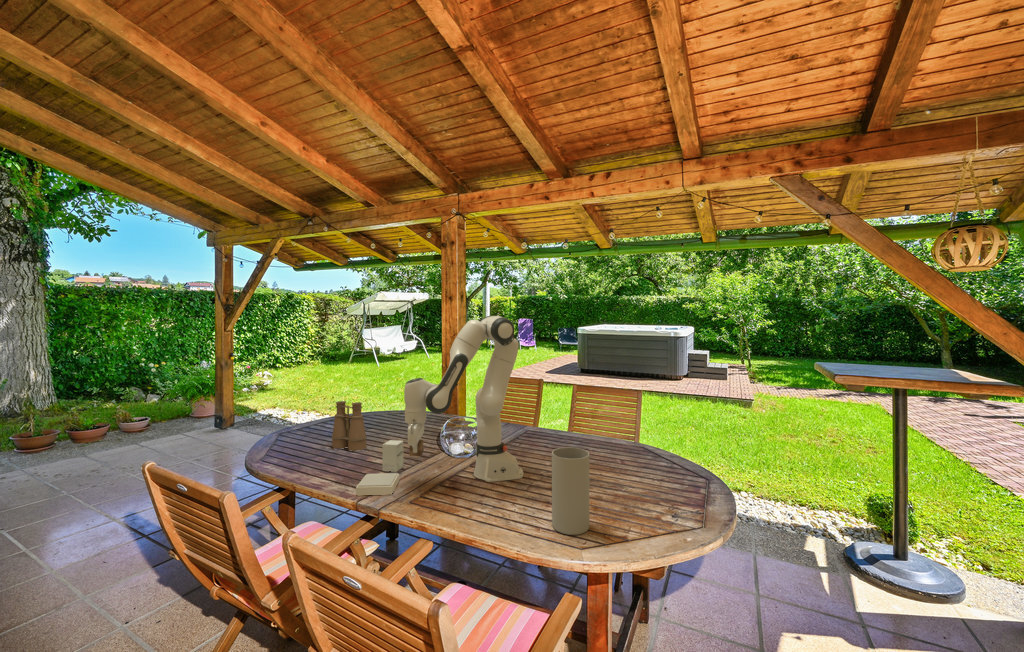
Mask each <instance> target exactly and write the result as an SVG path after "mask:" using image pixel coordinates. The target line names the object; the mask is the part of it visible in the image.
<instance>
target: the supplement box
mask: <svg viewBox="0 0 1024 652" xmlns="http://www.w3.org/2000/svg"><path fill="white" fill-rule="evenodd" d="M381 456H382V458H381V459H382V460H381V461H382V463H381V465H382V472H389V471H391V472H390V473H398V471H400V470H401V469H403V468H404V440H399V439H398V440H394V439H390V440H388V441H386V442H385V443H383V444H382V455H381Z"/></svg>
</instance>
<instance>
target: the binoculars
mask: <svg viewBox="0 0 1024 652" xmlns="http://www.w3.org/2000/svg"><path fill="white" fill-rule="evenodd" d="M346 403H347V401H345V400H340V401H335V404H336V405H335V408H336V414H334V422H333V429H332V435H331V436H330V437H331V439H332V440H331V441H332V442H331V443H332V444H331V445H332V447H334V448H345V447H348V448H347V450H348V449H349V450H352V451H356V450H362V449H364V448H366V449H367V437H368V436H367V433H366V427H365V422H364V415H363V414H362V408H363V406H362V405H363V402H359V401H357V402H356V401H355V402H352V403H351V406H350V405H346ZM350 409H351V410H352V415H350ZM332 447H331V448H332Z"/></svg>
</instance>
